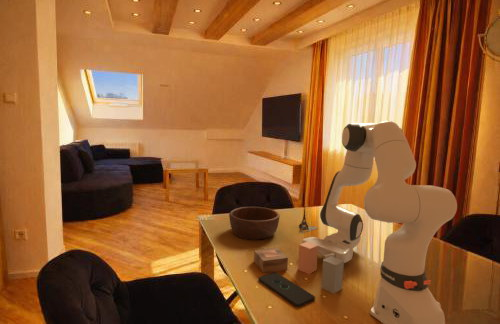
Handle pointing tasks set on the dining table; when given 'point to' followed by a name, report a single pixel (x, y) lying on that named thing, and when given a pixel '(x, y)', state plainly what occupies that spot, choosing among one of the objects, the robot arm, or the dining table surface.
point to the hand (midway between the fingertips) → (313, 254)
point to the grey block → (332, 274)
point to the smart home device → (287, 289)
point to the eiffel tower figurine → (305, 225)
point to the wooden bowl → (254, 222)
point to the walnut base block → (270, 260)
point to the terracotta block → (307, 257)
